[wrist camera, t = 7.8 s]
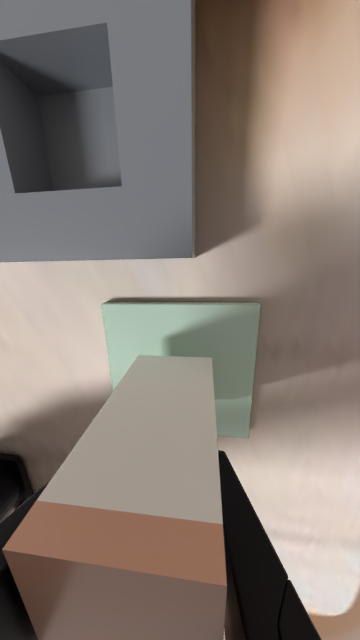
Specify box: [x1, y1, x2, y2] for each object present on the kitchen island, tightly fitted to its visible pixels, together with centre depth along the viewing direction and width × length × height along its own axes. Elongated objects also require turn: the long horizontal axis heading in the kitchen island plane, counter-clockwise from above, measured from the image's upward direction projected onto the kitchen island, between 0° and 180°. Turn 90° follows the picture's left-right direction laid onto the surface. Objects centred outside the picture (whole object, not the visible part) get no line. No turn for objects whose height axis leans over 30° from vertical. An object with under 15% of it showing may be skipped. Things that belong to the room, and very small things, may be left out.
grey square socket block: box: [0, 0, 196, 262], centre depth 9 cm, size 10×10×3 cm
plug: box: [2, 355, 227, 640], centre depth 8 cm, size 4×4×8 cm
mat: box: [101, 302, 261, 438], centre depth 13 cm, size 9×9×1 cm
